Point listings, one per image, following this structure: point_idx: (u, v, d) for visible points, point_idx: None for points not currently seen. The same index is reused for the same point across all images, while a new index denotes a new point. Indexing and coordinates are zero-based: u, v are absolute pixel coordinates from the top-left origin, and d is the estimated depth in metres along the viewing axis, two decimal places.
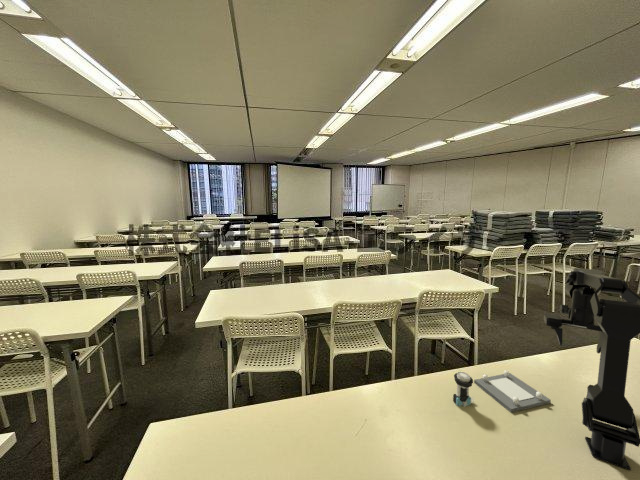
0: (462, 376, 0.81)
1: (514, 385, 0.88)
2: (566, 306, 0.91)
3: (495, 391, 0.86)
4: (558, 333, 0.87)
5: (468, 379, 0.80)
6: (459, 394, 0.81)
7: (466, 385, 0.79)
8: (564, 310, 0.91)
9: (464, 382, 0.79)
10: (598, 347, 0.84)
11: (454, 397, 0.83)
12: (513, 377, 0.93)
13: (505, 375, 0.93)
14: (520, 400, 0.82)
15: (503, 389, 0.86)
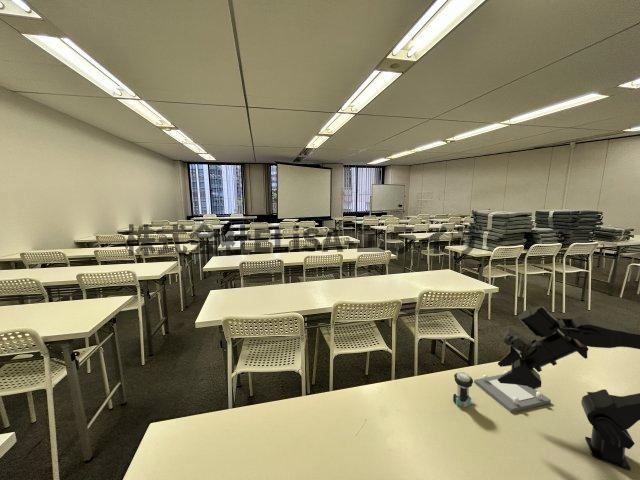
0: (462, 376, 0.81)
1: (514, 385, 0.88)
2: None
3: (495, 391, 0.86)
4: None
5: (468, 379, 0.80)
6: (459, 394, 0.81)
7: (466, 385, 0.79)
8: (522, 347, 0.70)
9: (464, 382, 0.79)
10: (505, 363, 0.79)
11: (454, 397, 0.83)
12: None
13: None
14: (520, 400, 0.82)
15: (503, 389, 0.86)
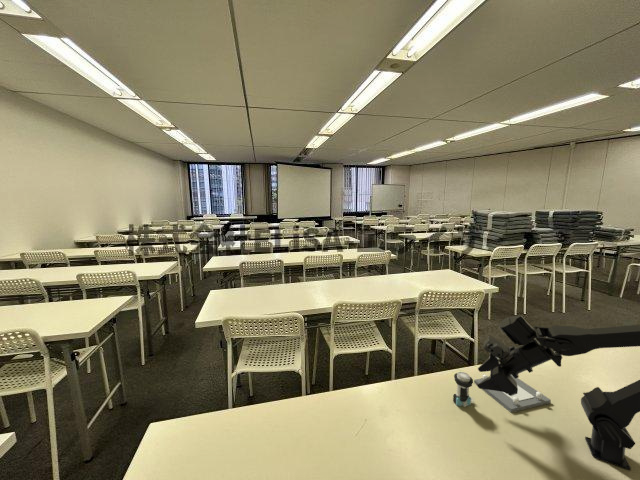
0: (462, 376, 0.81)
1: None
2: (502, 348, 0.73)
3: (495, 391, 0.86)
4: None
5: (468, 379, 0.80)
6: (459, 394, 0.81)
7: (466, 385, 0.79)
8: (501, 355, 0.72)
9: (464, 382, 0.79)
10: (485, 369, 0.82)
11: (454, 397, 0.83)
12: (513, 377, 0.93)
13: None
14: (520, 400, 0.82)
15: None
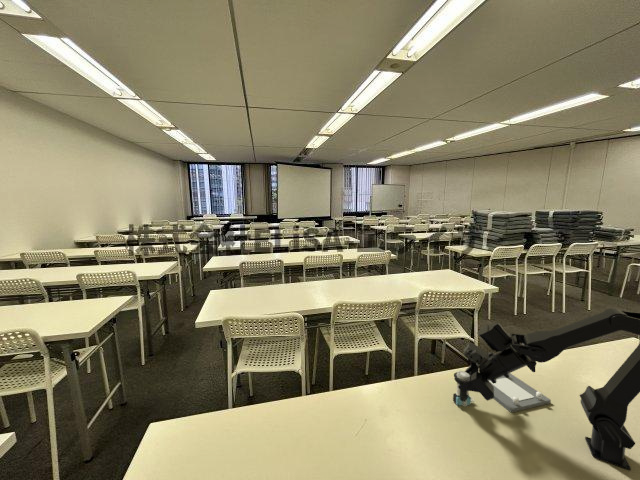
0: (462, 375, 0.81)
1: (514, 385, 0.88)
2: (480, 355, 0.76)
3: (495, 391, 0.86)
4: None
5: (468, 378, 0.80)
6: (459, 393, 0.82)
7: None
8: (479, 361, 0.75)
9: None
10: None
11: (454, 396, 0.83)
12: (513, 377, 0.93)
13: None
14: (520, 400, 0.82)
15: (503, 389, 0.86)
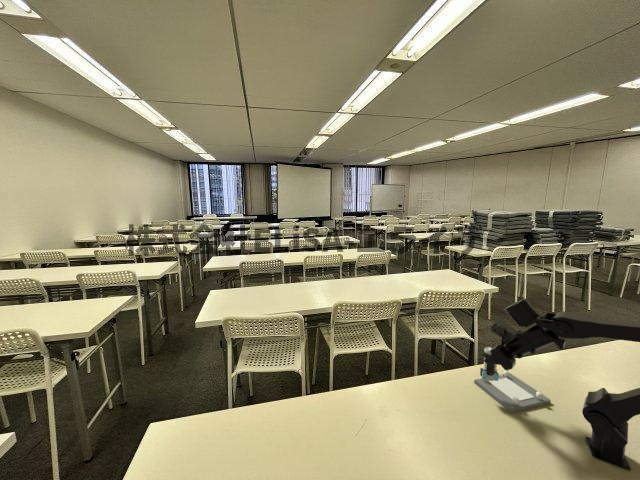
0: (489, 350, 0.83)
1: (514, 385, 0.88)
2: (505, 329, 0.78)
3: (495, 391, 0.86)
4: None
5: None
6: (485, 368, 0.84)
7: None
8: (503, 335, 0.77)
9: None
10: None
11: (481, 371, 0.85)
12: (513, 377, 0.93)
13: (505, 375, 0.93)
14: (520, 400, 0.82)
15: (503, 389, 0.86)
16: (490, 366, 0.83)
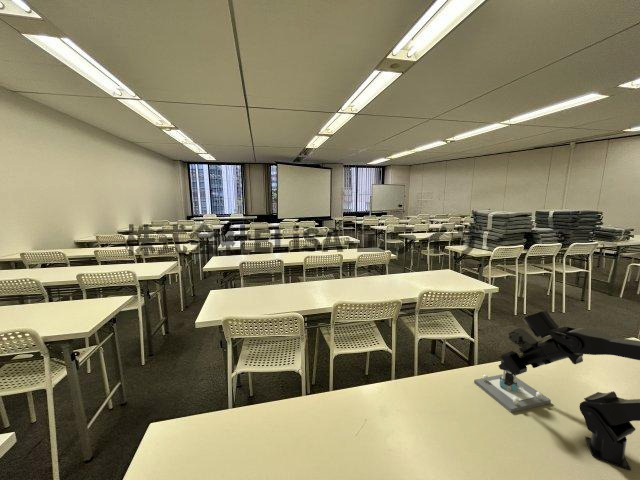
0: None
1: None
2: (521, 337, 0.80)
3: (495, 391, 0.86)
4: None
5: None
6: (504, 377, 0.87)
7: None
8: (519, 343, 0.80)
9: None
10: None
11: (500, 379, 0.88)
12: None
13: None
14: (520, 400, 0.82)
15: (503, 389, 0.86)
16: (508, 377, 0.86)
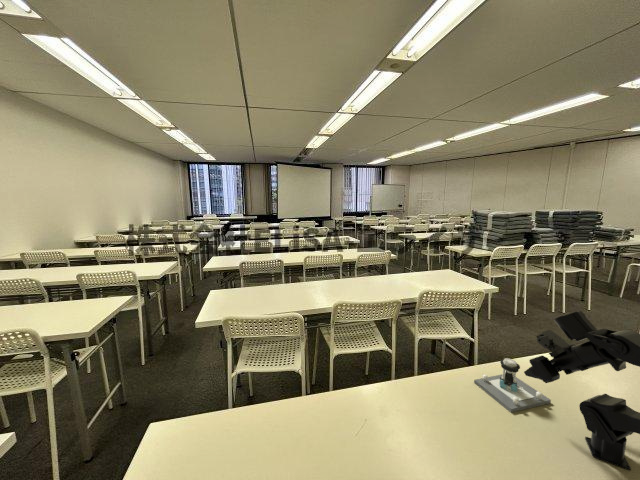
0: (507, 361, 0.86)
1: None
2: (552, 341, 0.72)
3: (495, 391, 0.86)
4: None
5: (512, 365, 0.84)
6: (504, 377, 0.87)
7: (508, 369, 0.84)
8: (549, 346, 0.72)
9: (507, 366, 0.85)
10: None
11: (500, 379, 0.89)
12: None
13: None
14: (520, 400, 0.82)
15: (503, 389, 0.86)
16: (508, 377, 0.86)
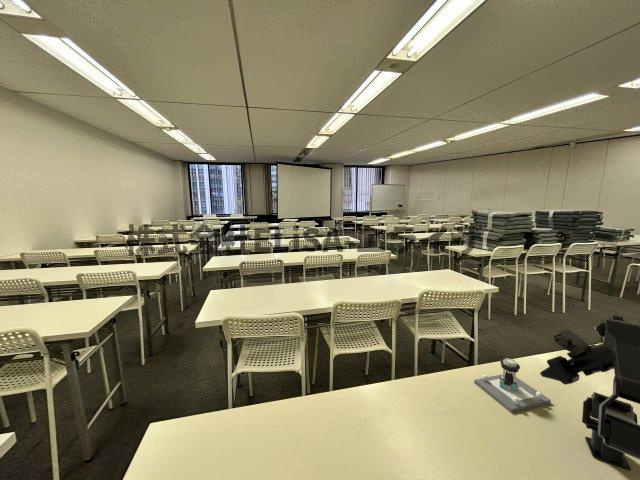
0: (507, 361, 0.86)
1: None
2: (570, 341, 0.70)
3: (495, 391, 0.86)
4: None
5: (512, 365, 0.84)
6: (504, 377, 0.87)
7: (508, 369, 0.84)
8: (568, 346, 0.70)
9: (507, 366, 0.85)
10: None
11: (500, 379, 0.89)
12: None
13: None
14: (520, 400, 0.82)
15: (503, 389, 0.86)
16: (508, 377, 0.86)
